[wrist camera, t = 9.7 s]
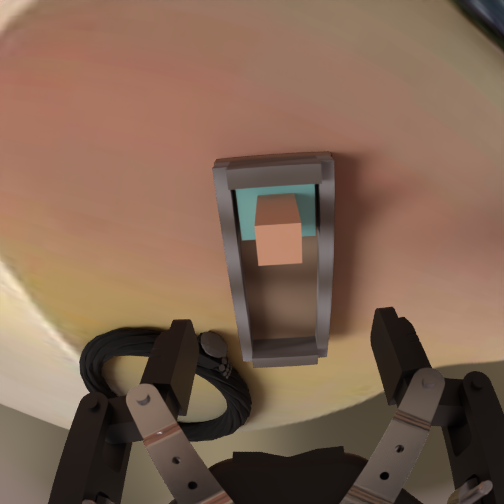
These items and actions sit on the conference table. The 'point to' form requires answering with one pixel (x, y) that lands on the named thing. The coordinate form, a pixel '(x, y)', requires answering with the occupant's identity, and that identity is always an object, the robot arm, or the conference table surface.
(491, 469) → the robot arm
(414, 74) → the conference table surface
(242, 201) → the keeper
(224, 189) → the board
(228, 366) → the cable lock
